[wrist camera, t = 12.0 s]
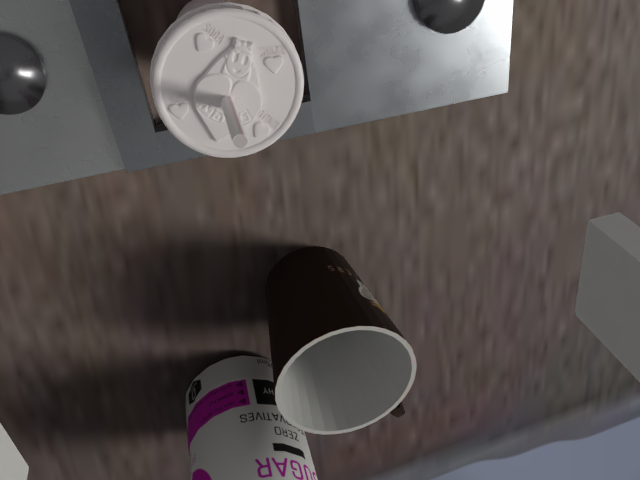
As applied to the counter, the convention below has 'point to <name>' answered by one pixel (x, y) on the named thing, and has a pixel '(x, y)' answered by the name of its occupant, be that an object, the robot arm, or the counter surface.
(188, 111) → the smoothie
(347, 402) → the coffee mug
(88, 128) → the link plate
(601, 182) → the counter surface
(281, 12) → the counter surface
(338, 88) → the link plate
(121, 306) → the counter surface
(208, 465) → the supplement can
